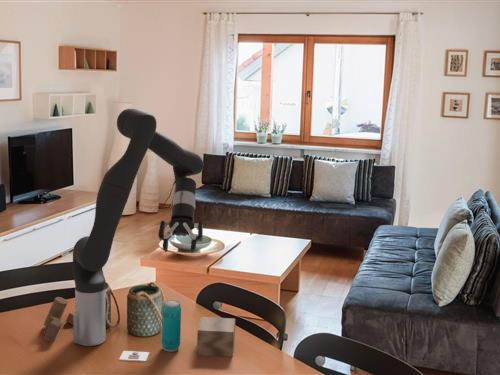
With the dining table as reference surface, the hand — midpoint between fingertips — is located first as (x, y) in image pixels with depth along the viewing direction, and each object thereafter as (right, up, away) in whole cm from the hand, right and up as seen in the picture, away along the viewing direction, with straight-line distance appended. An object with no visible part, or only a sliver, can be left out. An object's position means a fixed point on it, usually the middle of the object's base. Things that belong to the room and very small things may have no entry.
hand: (178, 251), depth 215 cm
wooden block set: (-40, -27, +2) cm, 48 cm away
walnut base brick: (+12, -30, -6) cm, 33 cm away
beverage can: (-2, -30, -7) cm, 31 cm away
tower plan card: (-12, -30, -14) cm, 36 cm away
